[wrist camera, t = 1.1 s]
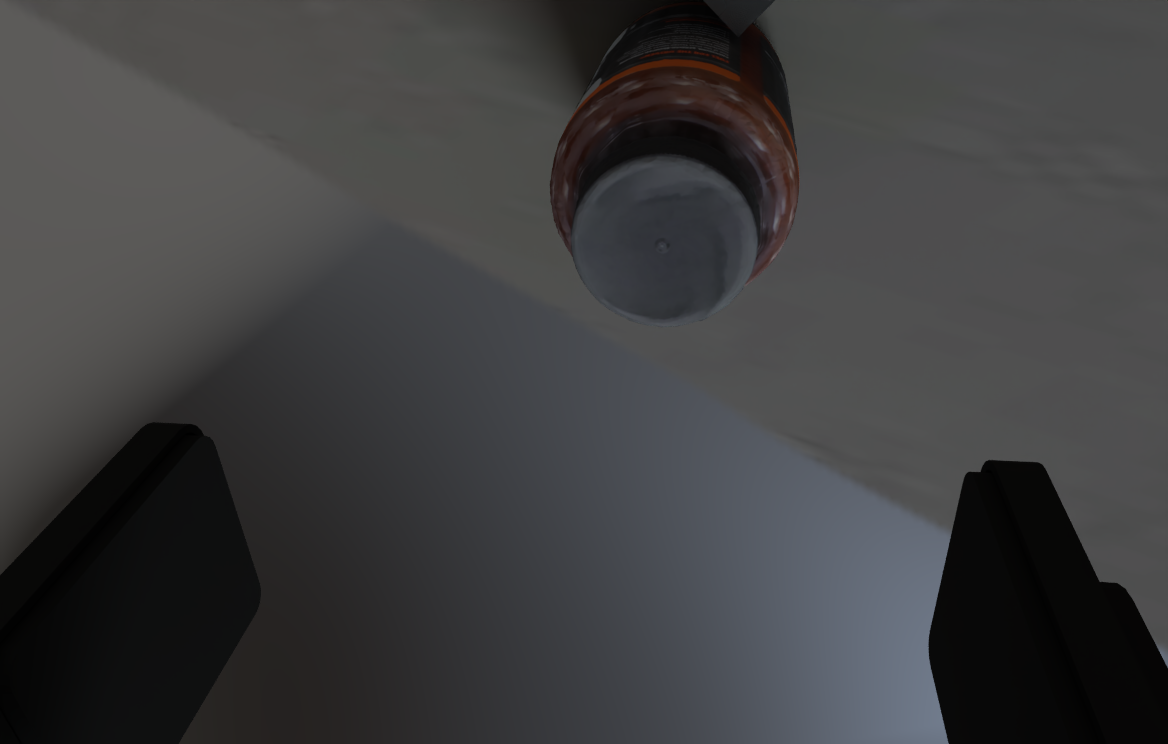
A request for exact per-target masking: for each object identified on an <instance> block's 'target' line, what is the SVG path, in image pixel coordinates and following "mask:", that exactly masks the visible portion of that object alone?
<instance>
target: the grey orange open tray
mask: <svg viewBox="0 0 1168 744" xmlns="http://www.w3.org/2000/svg"><path fill="white" fill-rule="evenodd" d="M703 1H704V2H705V3H706V4H707V5H708V6H709V7H710V8H711V9H712V10H713V11H714V12H715V13H716V14H717V15H718V16H719V18H720V19H721V20H722V21H723V22H724V23H725V24H726V25H727V26H728V27H729V28H730V29H731V30H732V31H733V32H734V33H735V35H736V36H737V37H739V36H740V35H741V34H742V33H743V32H744V31H745V30H746V29H747V28H748V27H749V26H750V25H751V24H752V23H753V22H754V21H755V20H756V19H757V18H758V17H759V16H760V15H761V14H762V13H763V12H764V11H765V10H766V9H767V8H768V7H769V6H770V5H771V4H772V3H773V2H774V1H775V0H703Z"/></svg>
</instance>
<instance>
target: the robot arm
mask: <svg viewBox="0 0 1168 744" xmlns="http://www.w3.org/2000/svg"><path fill="white" fill-rule="evenodd" d="M260 597H261V588H260V583H259V580H258V577H257V573H256V570H255V568H254V564H253V561H252V558H251V555H250V552H249V549H248V546H247V542H246V539H245V536H244V533H243V530H242V527H241V524H240V521H239V518H238V515H237V511H236V509H235V505H234V502H233V499H232V496H231V493H230V490H229V487H228V484H227V481H226V478H225V474H224V471H223V468H222V465H221V462H220V459H219V456H218V453H217V450H216V447H215V444H214V442H213V440H212V439H211V438H210V437H207V436H204V435H203V433H202V431H201V430H200V429H199V428H198V427H197V426H195V425H192V424H176V423H154V422H153V423H149V424H147V425H145V426H144V427H142V428H141V429H140V430H139V431H138V432H137V433H136V434H135V435H134V437H132V439H131V440H130V441H129V442H128V443H127V444H126V445H125V446H124V447H123V448H122V449H121V450H120V451H119V452H118V453H117V454H116V455H115V456H114V457H113V458H112V459H111V460H110V461H109V462H108V464H107V465H106V466H105V467H104V468H103V469H102V470H101V471H100V472H99V473H98V474H97V475H96V476H95V477H94V478H93V479H92V480H91V481H90V482H89V483H88V484H87V485H86V487H85V488H84V489H83V490H82V491H81V492H80V493H79V494H78V495H77V496H76V497H75V498H74V499H73V500H72V501H71V502H70V503H69V504H68V505H67V506H66V507H65V508H64V510H62V511H61V513H60V514H59V515H58V516H57V517H56V518H55V519H54V520H53V521H52V522H51V523H50V524H49V525H48V526H47V527H46V528H45V529H44V530H43V531H42V532H41V533H40V534H39V536H37V538H36V539H35V540H34V541H33V542H32V543H31V544H30V545H29V546H28V547H27V548H26V549H25V550H24V551H23V552H22V553H21V554H20V555H19V556H18V557H17V558H16V559H15V561H14V562H13V563H12V564H11V565H10V566H9V567H8V568H7V569H6V570H5V571H4V572H3V573H2V574H1V575H0V744H179V742H180V740H181V739H182V737H183V735H184V733H185V732H186V730H187V728H188V727H189V725H190V723H191V722H192V720H193V718H194V717H195V715H196V713H197V712H198V710H199V708H200V707H201V705H202V703H203V702H204V700H205V698H206V696H207V695H208V693H209V691H210V690H211V688H212V686H213V685H214V683H215V681H216V679H217V678H218V676H219V675H220V673H221V671H222V669H223V668H224V666H225V664H226V663H227V661H228V659H229V658H230V656H231V654H232V653H233V651H234V649H235V648H236V646H237V644H238V642H239V641H240V639H241V637H242V636H243V634H244V632H245V631H246V629H247V627H248V626H249V624H250V622H251V621H252V619H253V617H254V616H255V614H256V612H257V609H258V607H259V603H260ZM929 659H930V665H931V670H932V674H933V678H934V683H935V687H936V691H937V695H938V700H939V704H940V708H941V713H942V717H943V721H944V725H945V730H946V734H947V738H948V743H949V744H1168V668H1167V666H1166V664H1165V662H1164V660H1163V658H1162V656H1161V654H1160V652H1159V650H1158V648H1157V646H1156V644H1155V642H1154V640H1153V638H1152V636H1151V634H1150V632H1149V631H1148V629H1147V627H1146V625H1145V623H1144V621H1143V619H1142V617H1141V615H1140V613H1139V611H1138V609H1137V607H1136V605H1135V603H1134V601H1133V599H1132V598H1131V596H1130V595H1129V594H1128V592H1127V591H1126V589H1125V588H1123V587H1122V586H1121V585H1119V584H1118V583H1108V582H1099V580H1098V578H1097V576H1096V573H1095V571H1094V569H1093V567H1092V565H1091V563H1090V561H1089V559H1088V557H1087V555H1086V553H1085V550H1084V548H1083V546H1082V544H1081V542H1080V540H1079V538H1078V536H1077V534H1076V532H1075V530H1074V528H1073V525H1072V523H1071V521H1070V519H1069V517H1068V515H1067V513H1066V511H1065V509H1064V507H1063V505H1062V502H1061V500H1060V498H1059V496H1058V494H1057V492H1056V490H1055V488H1054V486H1053V484H1052V482H1051V479H1050V477H1049V475H1048V473H1047V471H1046V469H1045V468H1044V466H1043V465H1042V464H1040V463H1038V462H1018V461H996V460H988V461H986V462H985V463H984V465H983V466H982V469H981V472H968V473H967V474H966V475H965V477H964V481H963V485H962V489H961V494H960V498H959V503H958V507H957V512H956V516H955V521H954V525H953V530H952V534H951V539H950V543H949V548H948V552H947V557H946V561H945V566H944V570H943V575H942V579H941V584H940V588H939V593H938V597H937V602H936V606H935V611H934V615H933V620H932V625H931V629H930V634H929Z"/></svg>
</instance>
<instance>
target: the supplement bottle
mask: <svg viewBox="0 0 1168 744" xmlns="http://www.w3.org/2000/svg"><path fill="white" fill-rule="evenodd" d="M798 193H799V168H798V161H797V148H796V145H795V138H794V129H793V123H792V117H791V109H790V104H789V97H788V89H787V84H786V79H785V74H784V71H783V69H782V65H781V63H780V61H779V58H778V56H777V54H776V52H775V50H774V49H773V47H772V45H771V44H770V42H769V41H768V40H767V38H766V37H765V36H764V34H763V33H762V32H761V31H760V30H759V29H758V28H757V27H756V26H755V25H754V24H753V23H752V24H751V25H750V26H749V27H748V28H747V29H746V30H745V31H744V32H743V33H742V34H741V35H740V36H739V37H737V36H736V35H735V33H734V32H733V31H732V30H731V29H730V28H729V27H728V26H727V25H726V24H725V23H724V22H723V21H722V20H721V19H720V18H719V16H718V15H717V14H716V13H715V12H714V11H713V10H712V9H711V8H710V7H709V6H708V5H707V4H706V3H704V2H681V3H675V4H670V5H665V6H662V7H659V8H656V9H654V10H652V11H650V12H649V13H647V14H645V15H643V16H641V17H640V18H638V19H637V20H636V21H635V22H633V23H632V24H631V25H630V26H628V27H627V28H626V29H625V30H624V31H623V32H622V33H621V34H620V35H619V37H618V38H617V39H616V40H615V41H614V42H613V44H612V45H611V47H610V48H609V49H608V51H607V52H606V54H605V56H604V58H603V60H602V62H601V63H600V65H599V67H598V69H597V71H596V72H595V74H594V76H593V78H592V80H591V82H590V83H589V85H588V87H587V89H586V91H585V93H584V95H583V97H582V98H581V100H580V102H579V103H578V105H577V107H576V109H575V112H574V113H573V115H572V117H571V119H570V121H569V123H568V125H567V127H566V129H565V131H564V133H563V135H562V137H561V139H560V141H559V143H558V147H557V150H556V154H555V157H554V162H553V168H552V174H551V181H550V195H551V205H552V211H553V216H554V221H555V223H556V227H557V229H558V233H559V235H560V237H561V238H562V240H563V241H564V243H565V245H566V247H567V249H568V251H569V252H570V254H571V255H572V257H573V260H574V263H575V266H576V269H577V271H578V273H579V275H580V277H581V280H582V281H583V283H584V284H585V285H586V287H587V288H588V290H589V291H590V292H591V293H592V295H593V296H594V297H595V298H596V299H597V300H598V301H599V302H600V303H601V304H603V305H604V306H605V307H606V308H608V309H609V310H611V311H613V312H615V313H616V314H618V315H620V316H622V317H625V318H627V319H628V320H630V321H633V322H636V323H640V324H644V325H650V326H658V327H672V326H680V325H685V324H689V323H693V322H696V321H702V320H704V319H706V318H707V317H709V316H711V315H713V314H715V313H717V312H718V311H720V310H721V309H723V308H724V307H726V306H727V305H728V304H729V303H730V302H731V301H732V300H733V299H734V298H735V297H736V296H737V295H738V294H739V293H740V292H741V290H742V289H743V288H744V286H746V285H747V284H749V283H750V282H751V281H753V280H754V279H755V278H756V277H757V276H758V275H760V274H761V272H762V271H763V270H764V269H765V268H766V267H767V266H768V265H769V264H770V263H771V262H772V261H773V260H774V258H775V257H776V256H777V255H778V253H779V251H780V250H781V248H782V247H783V245H784V243H785V240H786V238H787V236H788V234H789V232H790V230H791V227H792V225H793V221H794V217H795V212H796V208H797V202H798Z"/></svg>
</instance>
